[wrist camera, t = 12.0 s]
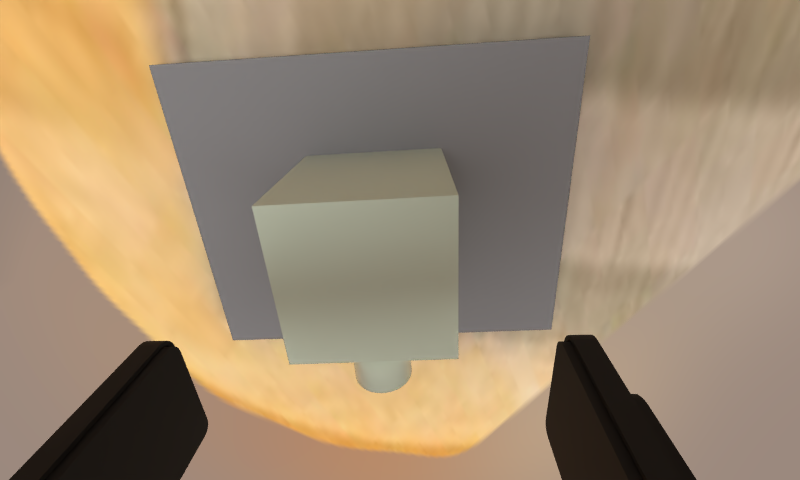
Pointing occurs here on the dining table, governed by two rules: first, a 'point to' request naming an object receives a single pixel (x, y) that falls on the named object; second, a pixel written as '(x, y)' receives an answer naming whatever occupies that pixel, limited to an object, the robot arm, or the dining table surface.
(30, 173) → the dining table surface
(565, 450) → the robot arm
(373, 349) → the block with round peg
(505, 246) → the board
